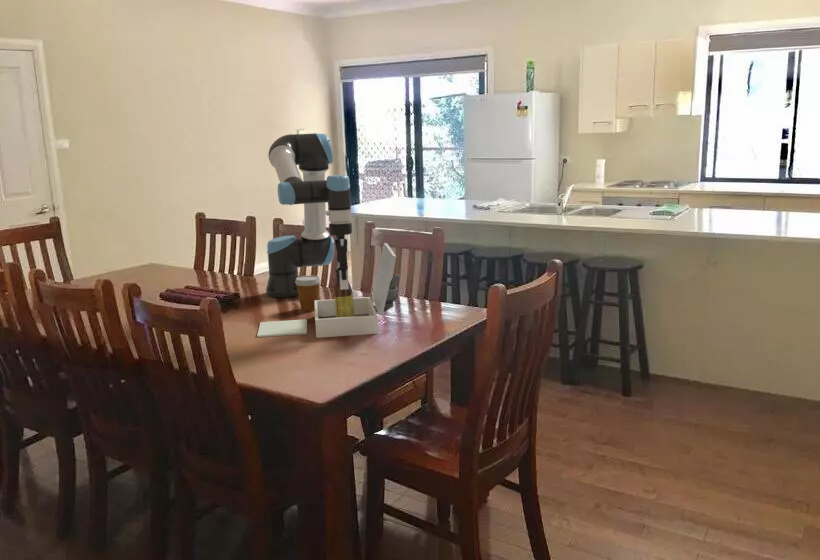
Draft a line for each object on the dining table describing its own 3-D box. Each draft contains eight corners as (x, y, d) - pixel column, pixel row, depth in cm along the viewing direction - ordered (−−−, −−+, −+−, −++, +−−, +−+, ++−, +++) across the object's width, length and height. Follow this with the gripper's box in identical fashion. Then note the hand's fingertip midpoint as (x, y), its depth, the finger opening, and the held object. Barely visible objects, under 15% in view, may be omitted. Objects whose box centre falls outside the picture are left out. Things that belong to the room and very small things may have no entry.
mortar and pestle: (378, 310, 252) (377, 278, 249) (368, 305, 260) (367, 274, 258) (406, 306, 257) (405, 275, 254) (395, 301, 265) (394, 270, 262)
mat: (260, 323, 239) (260, 322, 239) (306, 320, 241) (306, 319, 241) (257, 337, 223) (257, 335, 223) (306, 333, 225) (306, 332, 225)
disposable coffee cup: (317, 312, 251) (315, 280, 248) (293, 312, 253) (290, 280, 250) (325, 306, 260) (324, 275, 258) (302, 305, 262) (300, 275, 259)
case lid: (384, 242, 244) (387, 243, 244) (371, 296, 248) (374, 297, 248) (392, 255, 219) (396, 256, 219) (378, 315, 222) (382, 315, 223)
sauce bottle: (358, 324, 235) (355, 267, 230) (344, 328, 231) (341, 270, 226) (346, 321, 239) (343, 265, 235) (332, 324, 235) (329, 268, 231)
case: (315, 316, 246) (314, 300, 245) (370, 313, 249) (370, 296, 248) (316, 337, 221) (315, 319, 220) (378, 333, 224) (377, 315, 222)
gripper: (327, 218, 239) (331, 278, 243) (329, 227, 215) (333, 293, 219) (349, 217, 240) (352, 277, 244) (353, 226, 216) (357, 292, 220)
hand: (343, 285), depth 232 cm, fingers open, 13 cm apart
